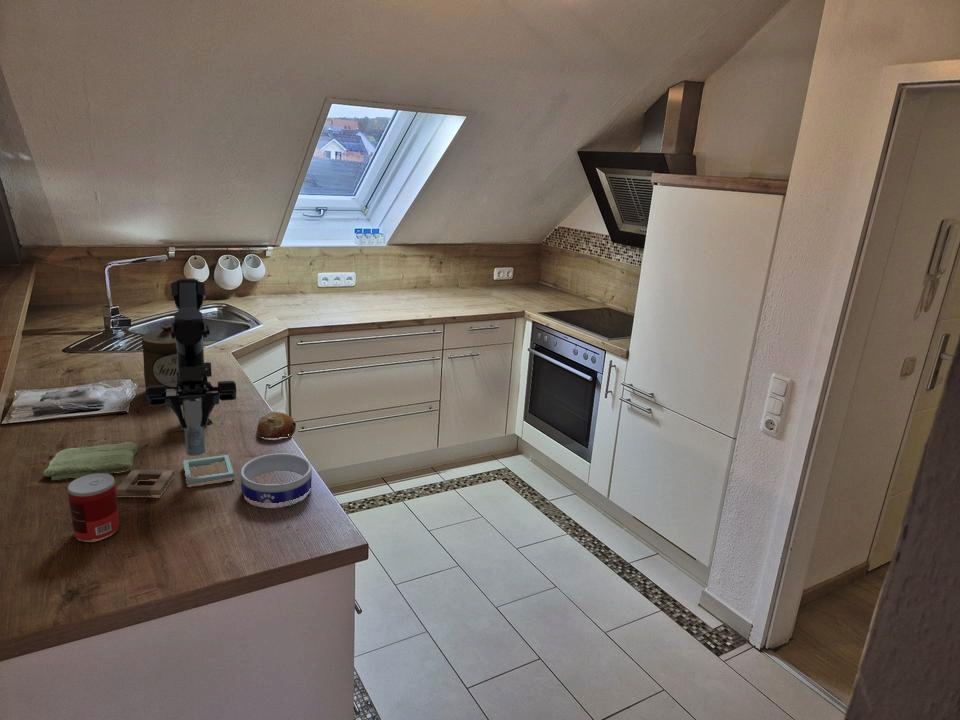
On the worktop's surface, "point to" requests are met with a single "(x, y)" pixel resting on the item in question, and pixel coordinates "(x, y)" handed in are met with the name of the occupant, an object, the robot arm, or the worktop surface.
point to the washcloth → (91, 460)
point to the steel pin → (193, 425)
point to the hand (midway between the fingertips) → (194, 428)
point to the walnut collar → (144, 490)
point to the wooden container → (160, 358)
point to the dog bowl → (276, 491)
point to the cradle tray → (207, 462)
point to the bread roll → (275, 425)
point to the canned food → (93, 506)
